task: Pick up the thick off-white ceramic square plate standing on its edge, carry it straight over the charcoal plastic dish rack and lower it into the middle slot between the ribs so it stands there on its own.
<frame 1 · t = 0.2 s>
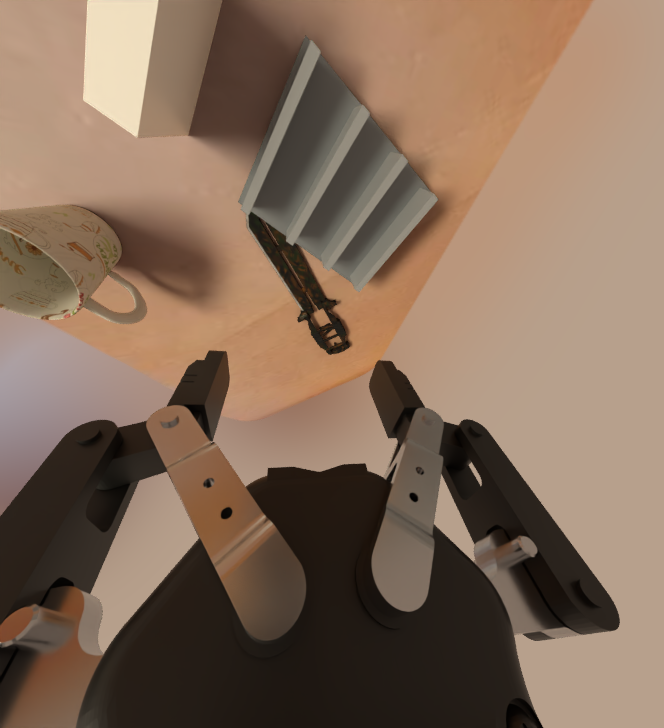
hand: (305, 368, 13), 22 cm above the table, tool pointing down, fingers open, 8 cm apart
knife: (303, 291, 34), on the table, touching dish rack
plate: (187, 58, 18), on the table
dish rack: (336, 195, 26), on the table
mug: (111, 253, 27), on the table
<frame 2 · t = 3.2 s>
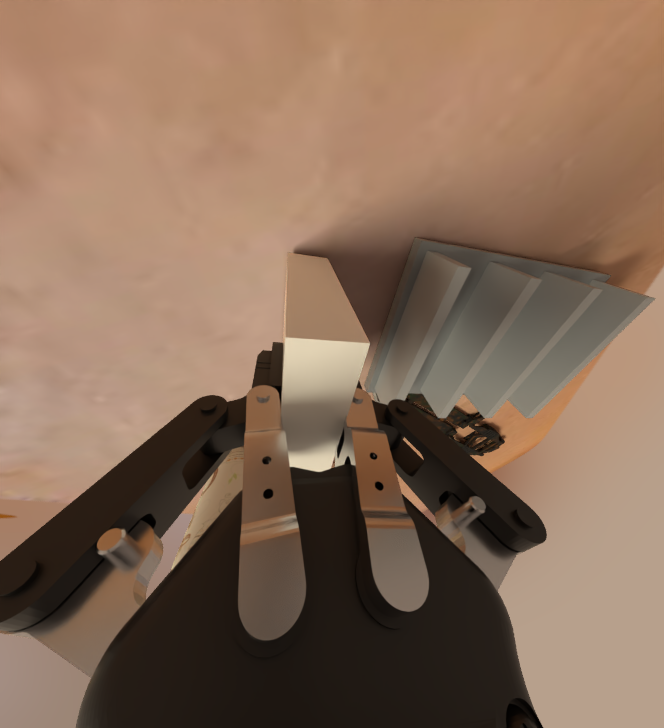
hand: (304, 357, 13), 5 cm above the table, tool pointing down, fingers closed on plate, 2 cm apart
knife: (438, 416, 29), on the table
plate: (301, 320, 17), on the table, touching gripper
dish rack: (469, 333, 21), on the table
mug: (261, 462, 29), on the table
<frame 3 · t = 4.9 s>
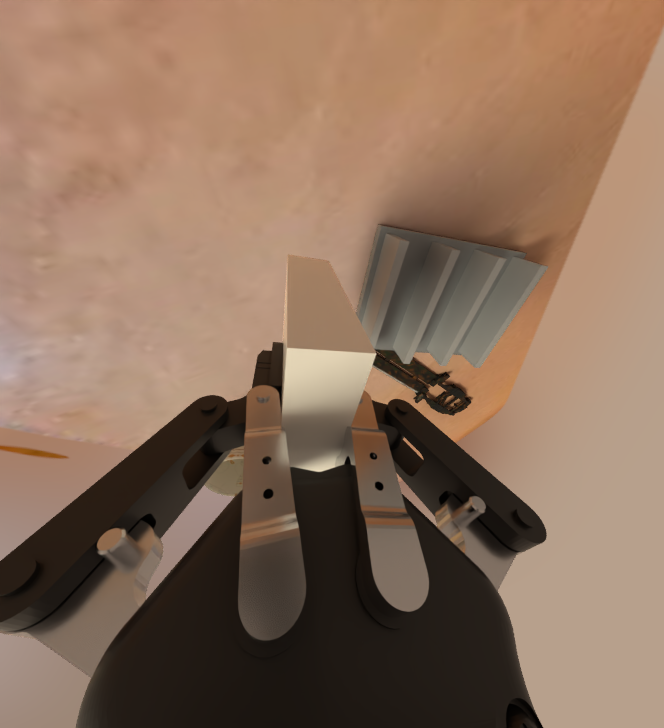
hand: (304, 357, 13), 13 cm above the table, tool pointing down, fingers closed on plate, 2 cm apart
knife: (413, 376, 35), on the table
plate: (301, 323, 17), point 9 cm above the table, touching gripper
dish rack: (427, 300, 27), on the table
mug: (267, 414, 35), on the table
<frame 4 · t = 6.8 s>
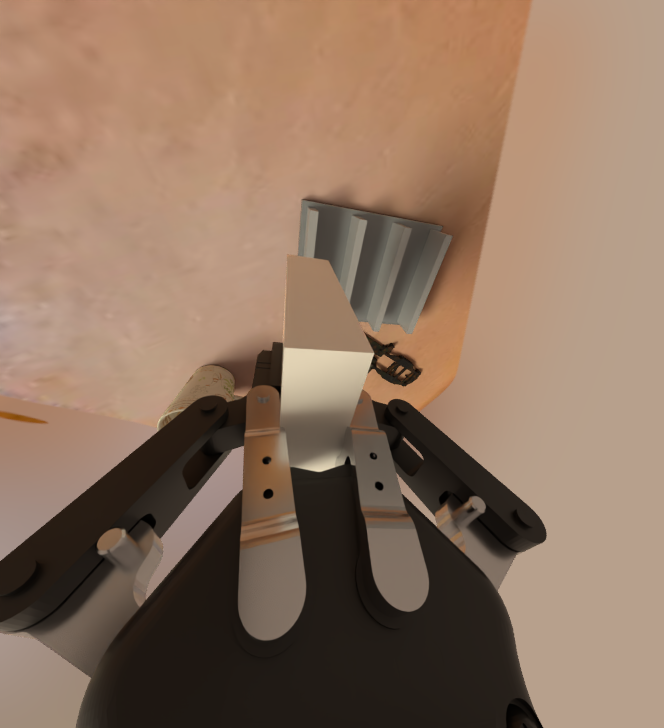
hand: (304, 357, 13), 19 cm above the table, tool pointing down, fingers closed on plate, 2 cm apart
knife: (362, 347, 38), on the table, touching dish rack
plate: (301, 323, 17), point 15 cm above the table, touching gripper
dish rack: (361, 272, 30), on the table
mug: (228, 382, 38), on the table
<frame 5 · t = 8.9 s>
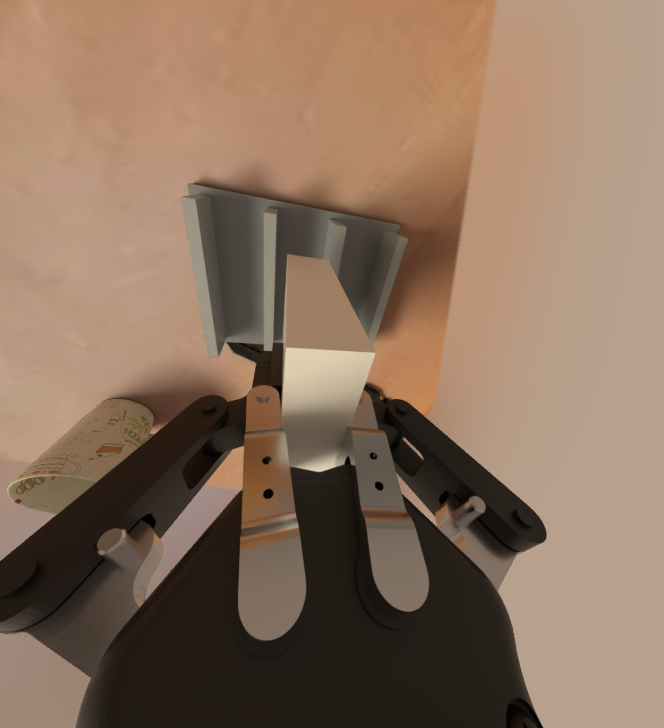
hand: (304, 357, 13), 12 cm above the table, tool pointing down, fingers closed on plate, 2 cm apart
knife: (314, 375, 31), on the table
plate: (301, 323, 17), point 8 cm above the table, touching gripper
dish rack: (297, 284, 23), on the table
mug: (147, 417, 31), on the table
when the fingers open (8 cm above the table, at t = 10.4 s): plate drops 3 cm, resting on dish rack.
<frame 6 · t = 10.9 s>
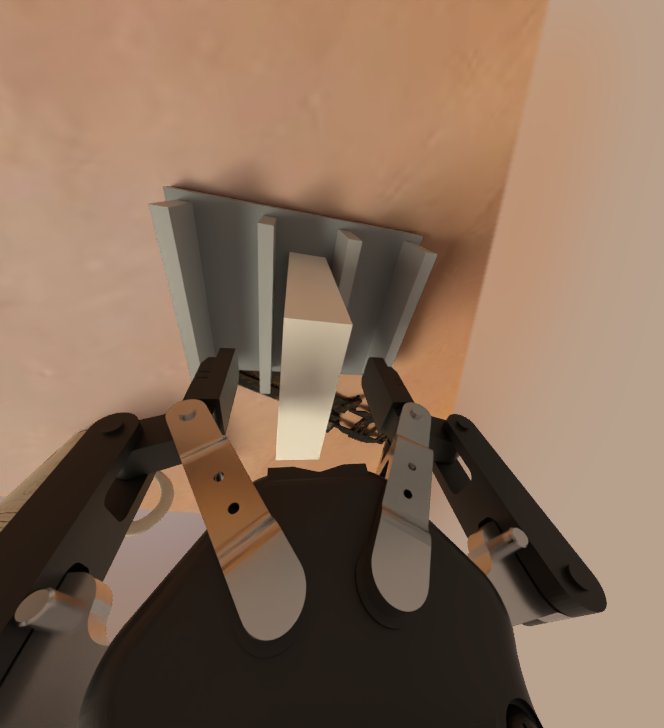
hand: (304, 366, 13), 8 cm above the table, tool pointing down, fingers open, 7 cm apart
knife: (318, 400, 28), on the table, touching dish rack
plate: (301, 314, 19), point 1 cm above the table, touching dish rack
dish rack: (299, 304, 19), on the table
mug: (130, 447, 27), on the table
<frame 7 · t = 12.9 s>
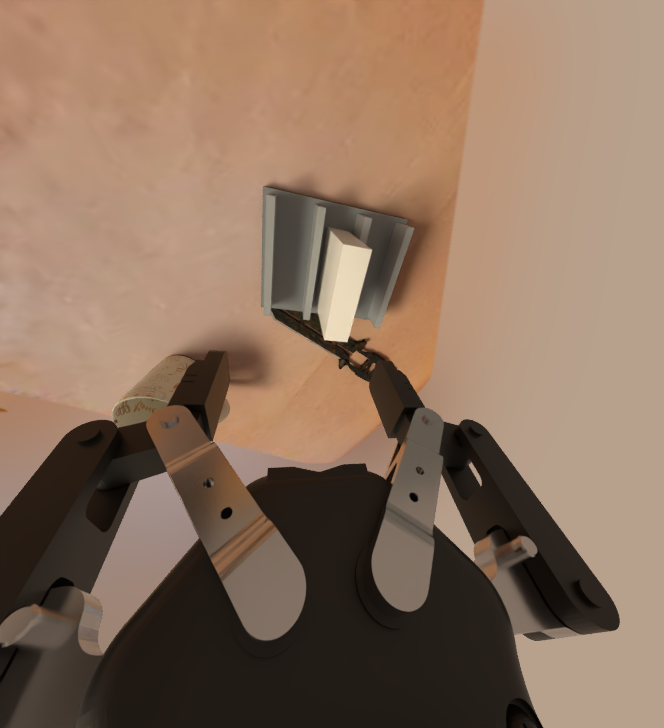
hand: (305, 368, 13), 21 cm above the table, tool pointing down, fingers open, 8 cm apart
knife: (334, 343, 38), on the table
plate: (330, 269, 29), point 1 cm above the table, touching dish rack
dish rack: (328, 264, 30), on the table
mug: (197, 374, 38), on the table
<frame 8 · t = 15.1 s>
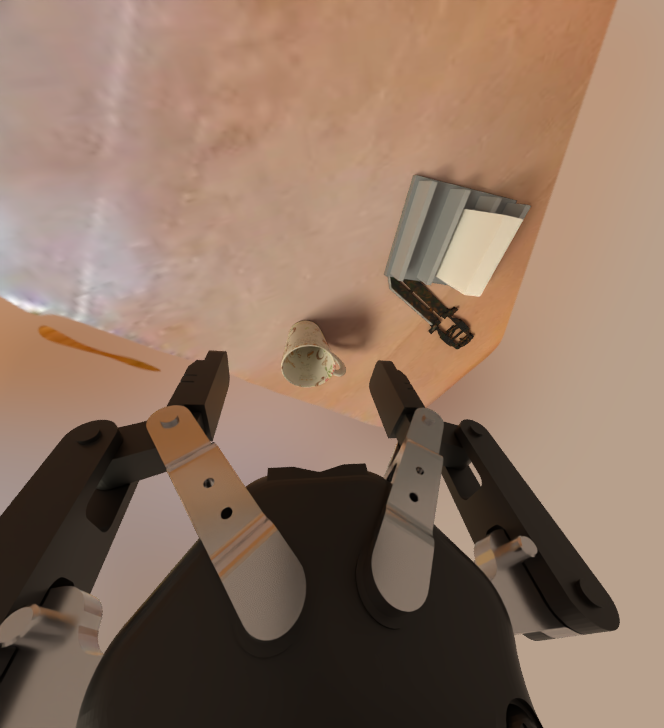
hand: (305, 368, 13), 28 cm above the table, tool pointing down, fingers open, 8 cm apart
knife: (428, 311, 45), on the table, touching dish rack
plate: (447, 243, 36), point 1 cm above the table, touching dish rack
dish rack: (444, 239, 37), on the table
mug: (314, 338, 45), on the table
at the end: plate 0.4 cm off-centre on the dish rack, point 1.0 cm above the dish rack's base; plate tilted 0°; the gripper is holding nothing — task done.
